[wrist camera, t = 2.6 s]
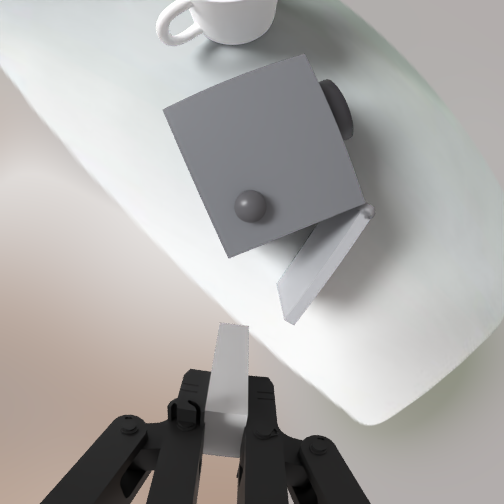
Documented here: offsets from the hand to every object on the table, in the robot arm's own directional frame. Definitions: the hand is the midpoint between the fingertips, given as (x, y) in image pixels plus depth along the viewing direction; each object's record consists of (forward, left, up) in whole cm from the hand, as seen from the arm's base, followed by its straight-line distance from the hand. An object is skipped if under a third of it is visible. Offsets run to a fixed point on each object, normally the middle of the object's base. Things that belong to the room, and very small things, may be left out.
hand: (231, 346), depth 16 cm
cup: (-24, +8, -17) cm, 30 cm away
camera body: (-8, +7, -17) cm, 20 cm away
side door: (+2, +7, -17) cm, 18 cm away
